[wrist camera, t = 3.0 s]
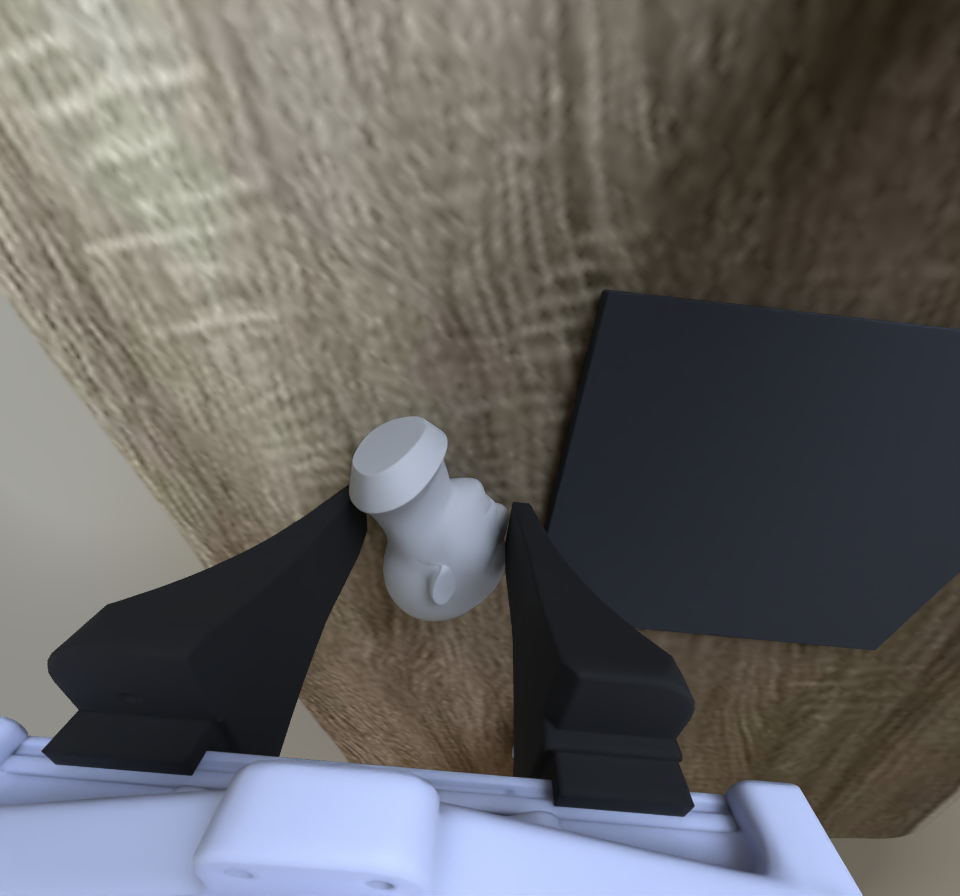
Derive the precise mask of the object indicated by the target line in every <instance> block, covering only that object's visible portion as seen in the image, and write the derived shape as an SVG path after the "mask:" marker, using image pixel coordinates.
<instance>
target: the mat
mask: <svg viewBox="0 0 960 896" xmlns="http://www.w3.org/2000/svg"><path fill="white" fill-rule="evenodd" d="M544 529H545V531H546V532H547V534H548V535H549V537H550V538H551V540H552V541H553V543H554V544H555V546H556V547H557V549H558V550H559V552H560V553H561V554H562V556H563V557H564V558H565V560H566V561H567V562H568V564H569V565H570V566H571V567H572V569H573V570H574V571H575V572H576V573H577V575H578V576H579V577H580V578H581V579H582V580H583V581H584V583H585V584H586V585H587V586H588V587H589V588H590V589H591V590H592V591H593V592H594V593H595V594H596V595H597V596H598V597H599V598H600V599H601V600H602V601H603V602H604V603H606V604H607V605H608V606H609V607H610V608H611V609H612V610H613V611H614V612H615V613H616V614H618V615H619V616H620V617H621V618H622V619H623V620H625V621H626V622H627V623H628V624H630V625H631V626H632V627H633V628H639V629H650V630H661V631H671V632H682V633H693V634H704V635H715V636H726V637H737V638H748V639H758V640H769V641H780V642H791V643H802V644H813V645H824V646H834V647H845V648H856V649H867V650H876V649H877V648H878V647H879V646H880V645H881V644H882V643H883V642H884V641H885V640H887V639H888V638H889V637H890V636H891V635H892V634H893V633H894V632H895V631H896V630H897V629H898V628H899V627H901V626H902V625H903V624H904V623H905V622H906V621H907V620H908V619H909V618H910V617H911V616H912V615H913V614H915V613H916V612H917V611H918V610H919V609H920V608H921V607H922V606H923V605H924V604H925V603H926V602H927V601H929V600H930V599H931V598H932V597H933V596H934V595H935V594H936V593H937V592H938V591H939V590H940V589H941V588H943V587H944V586H945V585H946V584H947V583H948V582H949V581H950V580H951V579H952V578H953V577H954V576H955V575H957V574H958V573H959V572H960V329H953V328H944V327H935V326H926V325H917V324H908V323H899V322H890V321H882V320H873V319H864V318H855V317H846V316H837V315H828V314H819V313H810V312H801V311H792V310H783V309H774V308H766V307H757V306H748V305H739V304H730V303H721V302H712V301H703V300H694V299H685V298H676V297H667V296H658V295H649V294H641V293H632V292H623V291H614V290H603V292H602V295H601V299H600V303H599V307H598V312H597V316H596V320H595V324H594V328H593V332H592V336H591V340H590V344H589V348H588V352H587V356H586V361H585V365H584V369H583V373H582V377H581V381H580V385H579V389H578V393H577V397H576V401H575V405H574V410H573V414H572V418H571V422H570V426H569V430H568V434H567V438H566V442H565V446H564V450H563V454H562V458H561V463H560V467H559V471H558V475H557V479H556V483H555V487H554V491H553V495H552V499H551V503H550V507H549V512H548V516H547V520H546V524H545V528H544Z"/></svg>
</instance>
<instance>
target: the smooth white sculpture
mask: <svg viewBox="0 0 960 896" xmlns="http://www.w3.org/2000/svg"><path fill="white" fill-rule="evenodd" d="M446 450H447V437H446V435H445V433H444V432H443V431H441V430H440V429H438V428H437V427H435V426H434V425H432V424H431V423H429V422H428V421H426V420H425V419H423V418H421V417H417V416H410V417H403V418H398V419H394V420H391V421H388V422H386V423H384V424H382V425H380V426H378V427H377V428H375V429H374V430H372V431H371V432H370V433H369V434H368V435H367V436H366V437H365V438H364V439H363V441H362V442H361V444H360V445H359V447H358V448H357V450H356V452H355V454H354V456H353V460H352V468H351V477H350V486H349V496H350V499H351V501H352V503H353V504H354V505H355V506H356V507H357V508H358V509H359V510H360V511H362V512H365V513H367V514H370V515H371V516H372V517H373V518H374V519H375V520H376V521H377V522H378V523H379V525H380V526H381V528H382V529H383V531H384V532H385V534H386V536H387V540H388V542H387V547H386V551H385V555H384V561H383V575H384V581H385V585H386V588H387V590H388V593H389V595H390V596H391V598H392V599H393V601H394V602H395V603H396V604H397V605H398V606H399V608H401V609H402V610H403V611H404V612H406V613H407V614H409V615H411V616H413V617H415V618H418V619H421V620H426V621H443V620H448V619H452V618H455V617H458V616H460V615H462V614H464V613H466V612H468V611H469V610H471V609H472V608H474V607H475V606H477V605H478V604H479V603H481V602H482V601H483V600H484V599H485V598H486V597H488V596H489V595H490V593H491V592H492V591H493V590H494V589H495V588H496V586H497V585H498V583H499V582H500V580H501V578H502V576H503V573H504V570H505V539H504V537H505V534H506V530H507V525H508V521H509V513H508V510H507V509H506V507H505V506H503V505H502V504H499V503H495V502H494V501H493V500H492V499H491V498H490V497H489V496H488V495H487V494H486V493H485V492H484V488H483V485H482V484H481V483H480V482H479V481H478V480H477V479H474V478H452V479H449V475H448V471H447V468H446V465H445V462H444V456H445V454H446Z"/></svg>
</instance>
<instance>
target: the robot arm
mask: <svg viewBox="0 0 960 896" xmlns="http://www.w3.org/2000/svg"><path fill="white" fill-rule="evenodd" d="M366 533H367V517H366V513H365V512H362V511H360V510H359V509H358V508H357V507H356V506H355V505H354V504H353V503H352V501H351V499H350V496H349V486H346V487H345V488H343V489H342V490H340V491H339V492H338V493H336V494H335V495H334V496H332V497H331V498H330V499H328V500H327V501H325V502H324V503H323V504H321V505H320V506H318V507H317V508H316V509H314V510H313V511H311V512H310V513H308V514H307V515H306V516H304V517H303V518H301V519H300V520H298V521H296V522H295V523H293V524H292V525H290V526H289V527H287V528H286V529H284V530H282V531H281V532H279V533H278V534H276V535H274V536H273V537H271V538H269V539H267V540H266V541H264V542H262V543H260V544H258V545H256V546H254V547H253V548H251V549H249V550H247V551H245V552H243V553H241V554H239V555H237V556H234V557H232V558H230V559H228V560H226V561H224V562H221V563H219V564H217V565H215V566H213V567H211V568H208V569H206V570H204V571H201V572H199V573H196V574H194V575H192V576H189V577H187V578H184V579H181V580H178V581H176V582H173V583H171V584H168V585H165V586H163V587H160V588H157V589H154V590H151V591H148V592H145V593H142V594H139V595H136V596H133V597H130V598H127V599H124V600H121V601H118V602H114V603H111V604H108V605H106V606H105V607H104V608H103V609H102V610H100V611H99V612H98V613H97V614H96V615H95V616H94V617H92V618H91V619H90V620H89V621H88V622H87V623H86V624H84V626H82V627H81V628H80V629H79V630H78V631H77V632H75V633H74V634H73V635H72V636H71V637H70V638H69V639H68V640H67V641H65V642H64V643H63V644H62V645H61V646H59V647H58V648H57V649H56V650H55V651H54V652H53V653H52V654H51V655H50V657H49V659H48V672H49V674H50V676H51V677H52V679H53V680H54V682H55V683H56V684H57V685H58V686H59V688H60V689H61V690H62V691H63V692H64V693H65V695H66V696H67V697H68V698H69V699H70V700H71V701H72V703H73V704H74V705H75V706H76V707H77V708H78V710H79V711H78V712H77V713H76V714H75V715H74V716H73V717H72V718H71V719H70V720H69V722H68V723H67V724H66V725H65V726H64V727H63V728H62V729H61V730H60V731H59V732H58V733H57V734H56V735H55V737H54V738H50V737H38V736H28V732H27V731H26V729H25V728H24V727H23V726H22V725H21V724H19V723H18V722H16V721H15V720H13V719H10V718H7V717H4V716H0V896H863V895H862V893H861V892H860V890H859V888H858V887H857V885H856V883H855V881H854V880H853V878H852V876H851V875H850V873H849V872H848V870H847V868H846V866H845V865H844V863H843V861H842V859H841V858H840V856H839V854H838V853H837V851H836V849H835V848H834V846H833V844H832V843H831V841H830V839H829V837H828V836H827V834H826V832H825V830H824V829H823V827H822V825H821V824H820V822H819V820H818V819H817V817H816V815H815V813H814V812H813V810H812V808H811V807H810V805H809V803H808V802H807V800H806V798H805V796H804V795H803V793H802V791H801V790H800V788H799V787H798V786H796V785H795V784H792V783H781V782H769V781H757V780H744V781H740V782H737V783H735V784H733V785H732V786H731V787H730V788H729V789H728V790H727V792H726V794H725V795H721V794H709V793H697V792H689V789H688V786H687V784H686V781H685V778H684V776H683V773H682V770H681V768H680V765H679V762H681V761H682V753H681V751H680V748H679V745H678V743H677V740H676V738H677V736H678V735H679V734H680V732H681V731H682V730H683V728H684V727H685V726H686V724H687V723H688V722H689V721H690V719H691V717H692V715H693V713H694V710H695V701H694V699H693V697H692V695H691V692H690V690H689V688H688V686H687V684H686V682H685V679H684V677H683V675H682V673H681V672H680V670H679V668H678V666H677V665H676V663H675V661H674V659H673V657H672V656H671V655H669V654H668V653H667V652H665V651H664V650H663V649H661V648H660V647H658V646H657V645H656V644H654V643H653V642H652V641H650V640H649V639H648V638H646V637H645V636H643V635H642V634H641V633H639V632H638V631H637V630H636V629H634V628H633V627H632V626H631V625H630V624H628V623H627V622H626V621H625V620H623V619H622V618H621V617H620V616H619V615H618V614H616V613H615V612H614V611H613V610H612V609H611V608H610V607H609V606H608V605H607V604H606V603H604V602H603V601H602V600H601V599H600V598H599V597H598V596H597V595H596V594H595V593H594V592H593V591H592V590H591V589H590V588H589V587H588V586H587V585H586V584H585V583H584V581H583V580H582V579H581V578H580V577H579V576H578V575H577V573H576V572H575V571H574V570H573V569H572V567H571V566H570V565H569V564H568V562H567V561H566V560H565V558H564V557H563V556H562V554H561V553H560V552H559V550H558V549H557V547H556V546H555V544H554V543H553V541H552V540H551V538H550V537H549V535H548V534H547V532H546V531H545V529H544V528H543V526H542V524H541V523H540V521H539V519H538V517H537V516H536V514H535V512H534V510H533V508H532V506H531V505H530V504H529V503H519V502H513V504H512V509H511V515H510V520H509V526H508V531H507V537H506V543H505V571H506V580H507V589H508V598H509V607H510V615H511V624H512V636H513V684H514V745H513V749H512V757H513V758H514V764H513V777H509V776H497V775H485V774H473V773H462V772H450V771H438V770H426V769H415V768H403V767H391V766H379V765H368V764H356V763H343V762H332V761H320V760H308V759H297V758H285V757H279V755H280V752H281V749H282V746H283V743H284V740H285V736H286V733H287V730H288V727H289V724H290V720H291V717H292V714H293V711H294V709H295V706H296V703H297V700H298V697H299V694H300V691H301V688H302V685H303V682H304V679H305V677H306V674H307V671H308V668H309V666H310V663H311V660H312V657H313V655H314V652H315V649H316V647H317V644H318V641H319V639H320V636H321V634H322V631H323V628H324V626H325V623H326V621H327V619H328V616H329V614H330V612H331V610H332V608H333V606H334V604H335V602H336V600H337V598H338V596H339V594H340V592H341V590H342V588H343V586H344V584H345V582H346V580H347V578H348V576H349V574H350V572H351V570H352V568H353V566H354V564H355V562H356V560H357V558H358V556H359V553H360V550H361V548H362V545H363V542H364V539H365V536H366Z"/></svg>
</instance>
